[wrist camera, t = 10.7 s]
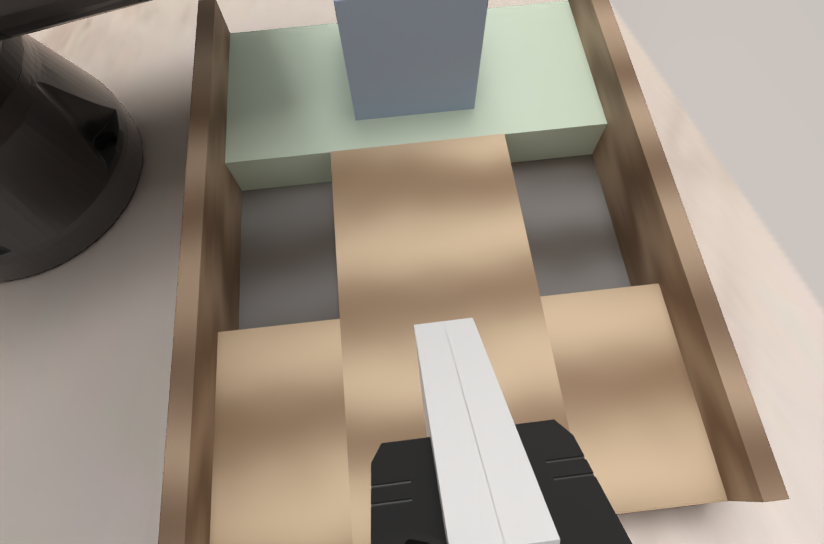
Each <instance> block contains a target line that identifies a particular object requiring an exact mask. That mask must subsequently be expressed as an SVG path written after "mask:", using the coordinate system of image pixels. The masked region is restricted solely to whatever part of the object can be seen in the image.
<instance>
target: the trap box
mask: <svg viewBox="0 0 824 544" xmlns="http://www.w3.org/2000/svg"><path fill="white" fill-rule="evenodd" d="M568 2H569V5H570V8H571V11H572V14H573V17H574V21H575V24H576V27H577V30H578V33H579V36H580V39H581V43H582V46H583V49H584V52H585V55H586V58H587V61H588V65H589V68H590V71H591V74H592V77H593V80H594V83H595V87H596V90H597V93H598V96H599V99H600V102H601V105H602V109H603V112H604V115H605V118H606V121H607V125H606V127H605V129H604V131H603V133H602V135H601V137H600V139H599V141H598V143H597V145H596V147H595V149H594V151H593V153H592V154H590V155H580V156H571V157H561V158H552V159H542V160H533V161H523V162H513V163H511V161H510V157H509V152H508V148H507V143H506V139H505V134H497V135H487V136H477V137H468V138H458V139H448V140H438V141H429V142H419V143H409V144H400V145H390V146H380V147H371V148H361V149H351V150H342V151H332V152H330V153H331V171H332V182H322V183H313V184H303V185H293V186H284V187H274V188H265V189H255V190H246V191H242V190H241V188H240V187H239V185H238V184H237V182H236V180H235V179H234V177H233V175H232V174H231V172H230V170H229V169H228V167H227V166H226V164H225V151H226V126H227V100H228V75H229V50H230V32H229V30H228V27H227V25H226V23H225V20H224V18H223V16H222V13H221V11H220V8H219V6H218V4H217V1H216V0H199V1H198V14H197V28H196V41H195V55H194V68H193V81H192V95H191V108H190V122H189V135H188V149H187V162H186V176H185V189H184V203H183V216H182V229H181V243H180V256H179V270H178V283H177V297H176V310H175V324H174V337H173V350H172V364H171V377H170V391H169V404H168V418H167V431H166V445H165V458H164V472H163V485H162V498H161V512H160V525H159V539H158V544H371V462H372V460H373V458H374V456H375V454H376V452H377V450H378V449H379V447H380V445H381V443H387V442H394V441H402V440H410V439H418V438H425V437H427V432H426V425H425V419H424V411H423V402H422V393H421V384H420V375H419V366H418V357H417V348H416V339H415V330H414V325H416V324H425V323H433V322H441V321H449V320H457V319H465V318H473V320H474V322H475V325H476V327H477V330H478V332H479V335H480V338H481V340H482V343H483V345H484V348H485V350H486V353H487V355H488V358H489V360H490V363H491V365H492V368H493V370H494V373H495V376H496V378H497V381H498V383H499V386H500V388H501V391H502V393H503V396H504V398H505V401H506V403H507V406H508V409H509V411H510V414H511V416H512V419H513V421H514V424H521V423H529V422H537V421H545V420H552V419H554V420H556V421H557V422H558V423H559V424H560V425H562V426H563V427H564V428H565V429H567V430H568V431H569V432H570V433H571V434H573V435H574V437H575V439H576V441H577V443H578V445H579V446H580V448H581V450H582V452H583V454H584V457H585V459H587V461H588V463H589V465H590V467H591V469H592V470H593V474H594V477H595V476H596V478H597V480H598V482H599V483H600V485H601V487H602V489H603V491H604V493H605V495H606V496H607V498H608V500H609V502H610V504H611V506H612V508H613V509H614V511H615V513H616V514H623V513H631V512H639V511H648V510H656V509H664V508H672V507H681V506H689V505H697V504H706V503H714V502H722V501H747V502H769V501H777V500H785V499H789V496H788V494H787V491H786V488H785V485H784V483H783V480H782V477H781V474H780V472H779V469H778V466H777V463H776V461H775V458H774V455H773V452H772V449H771V447H770V444H769V441H768V438H767V436H766V433H765V430H764V427H763V425H762V422H761V419H760V416H759V414H758V411H757V408H756V405H755V403H754V400H753V397H752V394H751V391H750V389H749V386H748V383H747V380H746V378H745V375H744V372H743V369H742V367H741V364H740V361H739V358H738V356H737V353H736V350H735V347H734V344H733V342H732V339H731V336H730V333H729V331H728V328H727V325H726V322H725V320H724V317H723V314H722V311H721V309H720V306H719V303H718V300H717V297H716V295H715V292H714V289H713V286H712V284H711V281H710V278H709V275H708V273H707V270H706V267H705V264H704V262H703V259H702V256H701V253H700V250H699V248H698V245H697V242H696V239H695V237H694V234H693V231H692V228H691V226H690V223H689V220H688V217H687V215H686V212H685V209H684V206H683V204H682V201H681V198H680V195H679V192H678V190H677V187H676V184H675V181H674V179H673V176H672V173H671V170H670V168H669V165H668V162H667V159H666V157H665V154H664V151H663V148H662V145H661V143H660V140H659V137H658V134H657V132H656V129H655V126H654V123H653V121H652V118H651V115H650V112H649V110H648V107H647V104H646V101H645V98H644V96H643V93H642V90H641V87H640V85H639V82H638V79H637V76H636V74H635V71H634V68H633V65H632V63H631V60H630V57H629V54H628V52H627V49H626V46H625V43H624V40H623V38H622V35H621V32H620V29H619V27H618V24H617V21H616V18H615V16H614V13H613V10H612V7H611V5H610V2H609V0H568Z"/></svg>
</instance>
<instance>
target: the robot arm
mask: <svg viewBox="0 0 824 544" xmlns="http://www.w3.org/2000/svg"><path fill="white" fill-rule="evenodd" d="M148 1H152V0H0V282H1V281H9V280H15V279H20V278H24V277H28V276H31V275H35V274H38V273H40V272H43V271H46V270H48V269H50V268H53V267H55V266H57V265H59V264H61V263H63V262H65V261H67V260H68V259H70V258H72V257H74V256H75V255H77V254H78V253H80V252H81V251H83V250H84V249H85V248H87V247H88V246H89V245H91V244H92V243H93V242H94V241H96V240H97V239H98V238H99V237H100V236H101V235H102V234H103V233H104V232H105V231H106V230H107V229H108V228H109V227H110V226H111V225H112V224H113V223H114V221H115V220H116V219H117V218H118V217H119V215H120V214H121V212H122V211H123V210H124V208H125V207H126V205H127V203H128V202H129V200H130V198H131V196H132V194H133V192H134V190H135V187H136V185H137V182H138V179H139V175H140V171H141V165H142V144H141V138H140V135H139V132H138V129H137V127H136V125H135V123H134V121H133V119H132V118H131V116H130V115H129V114H128V112H127V111H126V110H125V109H124V107H123V106H122V105H121V104H120V102H119V101H118V100H117V98H116V97H115V96H114V95H113V94H112V92H111V91H110V90H109V89H108V88H107V87H106V86H104V85H103V84H102V83H101V82H100V81H99V80H97V79H96V78H94V77H93V76H91V75H90V74H88V73H87V72H85V71H84V70H82V69H80V68H79V67H77V66H76V65H74V64H73V63H71V62H70V61H68V60H66V59H65V58H63V57H62V56H60V55H59V54H57V53H56V52H54V51H52V50H51V49H49V48H48V47H46V46H45V45H43V44H41V43H40V42H38V41H37V40H35V39H34V38H32V37H31V36H29V35H27V34H29V33H33V32H37V31H40V30H44V29H48V28H51V27H55V26H59V25H63V24H66V23H70V22H74V21H77V20H81V19H85V18H89V17H92V16H96V15H100V14H103V13H107V12H111V11H115V10H118V9H122V8H126V7H129V6H133V5H137V4H141V3H144V2H148ZM414 330H415V339H416V348H417V357H418V366H419V375H420V384H421V393H422V402H423V411H424V419H425V425H426V432H427V437H425V438H418V439H410V440H402V441H394V442H387V443H381V445H380V447H379V449H378V450H377V452H376V454H375V456H374V458H373V460H372V462H371V544H632V543H631V541H630V539H629V537H628V535H627V533H626V532H625V530H624V528H623V526H622V524H621V522H620V520H619V519H618V517H617V515H616V513H615V511H614V509H613V508H612V506H611V504H610V502H609V500H608V498H607V496H606V495H605V493H604V491H603V489H602V487H601V485H600V483H599V482H598V480H597V478H596V476H595V477H594V474H593V470H592V469H591V467H590V465H589V463H588V461H587V459H585V457H584V454H583V452H582V450H581V448H580V446H579V445H578V443H577V441H576V439H575V437H574V435H573V434H571V433H570V432H569V431H568V430H567V429H565V428H564V427H563V426H562V425H560V424H559V423H558V422H557V421H556V420H554V419H552V420H545V421H537V422H529V423H521V424H514V421H513V419H512V416H511V414H510V411H509V409H508V406H507V403H506V401H505V398H504V396H503V393H502V391H501V388H500V386H499V383H498V381H497V378H496V376H495V373H494V370H493V368H492V365H491V363H490V360H489V358H488V355H487V353H486V350H485V348H484V345H483V343H482V340H481V338H480V335H479V332H478V330H477V327H476V325H475V322H474V320H473V318H465V319H457V320H449V321H441V322H433V323H425V324H416V325H414Z"/></svg>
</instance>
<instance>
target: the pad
mask: <svg viewBox="0 0 824 544" xmlns="http://www.w3.org/2000/svg"><path fill="white" fill-rule="evenodd" d="M606 125H607V121H606V118H605V115H604V112H603V109H602V105H601V102H600V99H599V96H598V93H597V90H596V87H595V83H594V80H593V77H592V74H591V71H590V68H589V65H588V61H587V58H586V55H585V52H584V49H583V46H582V43H581V39H580V36H579V33H578V30H577V27H576V24H575V21H574V17H573V14H572V11H571V8H570V5H569V2H568V1H558V2H548V3H537V4H527V5H517V6H507V7H496V8H487V15H486V22H485V30H484V38H483V45H482V53H481V61H480V68H479V76H478V83H477V91H476V99H475V106H474V109H466V110H456V111H446V112H436V113H426V114H416V115H406V116H396V117H385V118H375V119H365V120H356V119H355V114H354V109H353V103H352V98H351V92H350V87H349V82H348V76H347V71H346V65H345V60H344V55H343V49H342V44H341V38H340V33H339V28H338V23H333V24H322V25H312V26H302V27H292V28H281V29H271V30H261V31H251V32H241V33H230V50H229V75H228V100H227V126H226V151H225V164H226V166H227V167H228V169H229V170H230V172H231V174H232V175H233V177H234V179H235V180H236V182H237V184H238V185H239V187H240V188H241V190H242V191H246V190H255V189H265V188H274V187H284V186H293V185H303V184H313V183H322V182H332V171H331V153H330V152H332V151H342V150H351V149H361V148H371V147H380V146H390V145H400V144H409V143H419V142H429V141H438V140H448V139H458V138H468V137H477V136H487V135H497V134H505V139H506V143H507V148H508V152H509V157H510V161H511V163H513V162H523V161H533V160H542V159H552V158H561V157H571V156H580V155H590V154H592V153H593V151H594V149H595V147H596V145H597V143H598V141H599V139H600V137H601V135H602V133H603V131H604V129H605V127H606Z"/></svg>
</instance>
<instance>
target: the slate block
mask: <svg viewBox="0 0 824 544" xmlns="http://www.w3.org/2000/svg"><path fill="white" fill-rule="evenodd" d="M334 6H335V11H336V17H337V22H338V28H339V33H340V38H341V44H342V49H343V55H344V60H345V65H346V71H347V76H348V82H349V87H350V92H351V98H352V103H353V109H354V114H355V119H356V120H365V119H375V118H385V117H396V116H406V115H416V114H426V113H436V112H446V111H456V110H466V109H474V106H475V99H476V91H477V83H478V76H479V68H480V61H481V53H482V45H483V38H484V30H485V22H486V15H487V7H488V0H334Z"/></svg>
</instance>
